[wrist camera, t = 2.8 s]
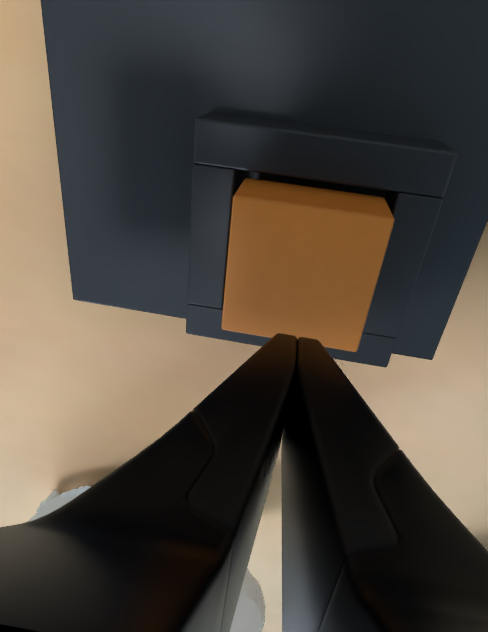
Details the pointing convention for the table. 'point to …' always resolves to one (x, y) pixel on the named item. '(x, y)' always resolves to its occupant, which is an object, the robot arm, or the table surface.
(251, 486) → the robot arm
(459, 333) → the table surface
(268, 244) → the key
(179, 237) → the dark grey socket base
